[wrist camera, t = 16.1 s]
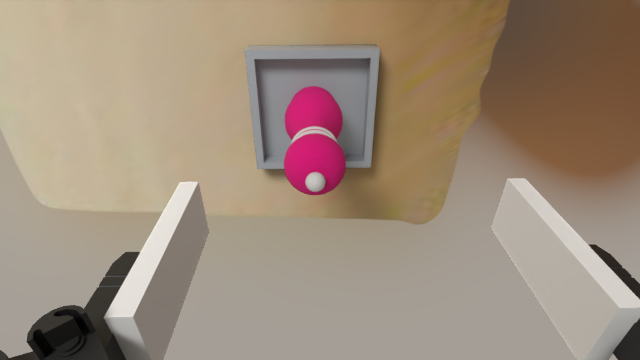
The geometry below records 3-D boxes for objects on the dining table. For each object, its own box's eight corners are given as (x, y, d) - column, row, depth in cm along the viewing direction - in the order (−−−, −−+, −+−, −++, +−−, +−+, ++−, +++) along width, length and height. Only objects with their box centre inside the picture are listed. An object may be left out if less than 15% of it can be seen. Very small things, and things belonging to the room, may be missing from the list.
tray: (248, 45, 45) (244, 50, 43) (376, 44, 46) (379, 49, 43) (259, 159, 53) (257, 169, 51) (367, 157, 54) (370, 167, 51)
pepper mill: (307, 142, 51) (306, 232, 34) (275, 102, 48) (256, 178, 31) (350, 114, 49) (372, 195, 32) (320, 70, 46) (326, 133, 29)
